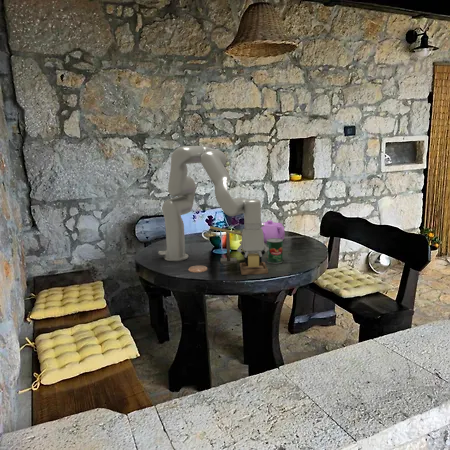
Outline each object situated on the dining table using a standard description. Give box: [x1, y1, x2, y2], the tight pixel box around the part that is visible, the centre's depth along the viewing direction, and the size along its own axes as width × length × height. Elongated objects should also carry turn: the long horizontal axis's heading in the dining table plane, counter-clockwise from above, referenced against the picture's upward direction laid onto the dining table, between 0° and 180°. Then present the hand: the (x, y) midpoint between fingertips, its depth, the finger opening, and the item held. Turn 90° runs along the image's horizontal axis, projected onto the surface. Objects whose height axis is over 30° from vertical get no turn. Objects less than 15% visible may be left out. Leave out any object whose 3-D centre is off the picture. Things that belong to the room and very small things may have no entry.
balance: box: [203, 225, 242, 265], centre depth 201 cm, size 23×6×18 cm, turn 92°
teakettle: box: [261, 219, 286, 244], centre depth 244 cm, size 17×17×12 cm
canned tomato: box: [266, 238, 284, 265], centre depth 200 cm, size 8×8×11 cm
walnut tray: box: [239, 261, 269, 276], centre depth 188 cm, size 12×12×2 cm
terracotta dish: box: [188, 265, 208, 273], centre depth 192 cm, size 9×9×1 cm
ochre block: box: [247, 253, 259, 267], centre depth 188 cm, size 5×5×5 cm
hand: (253, 264), depth 188 cm, fingers closed on ochre block, 4 cm apart
